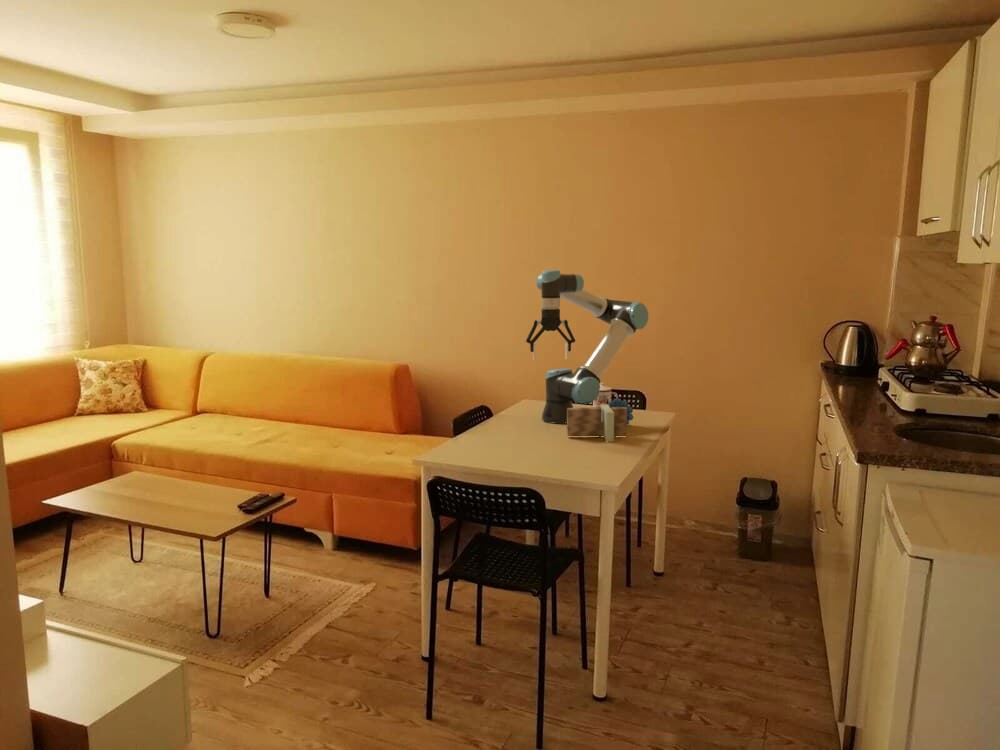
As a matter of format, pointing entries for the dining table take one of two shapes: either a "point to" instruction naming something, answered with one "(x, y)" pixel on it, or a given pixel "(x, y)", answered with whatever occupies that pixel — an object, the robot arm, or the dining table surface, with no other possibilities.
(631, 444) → the dining table surface
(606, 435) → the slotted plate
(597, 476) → the dining table surface
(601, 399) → the teacup with lid
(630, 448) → the dining table surface
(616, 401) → the grapes
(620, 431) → the slotted board
